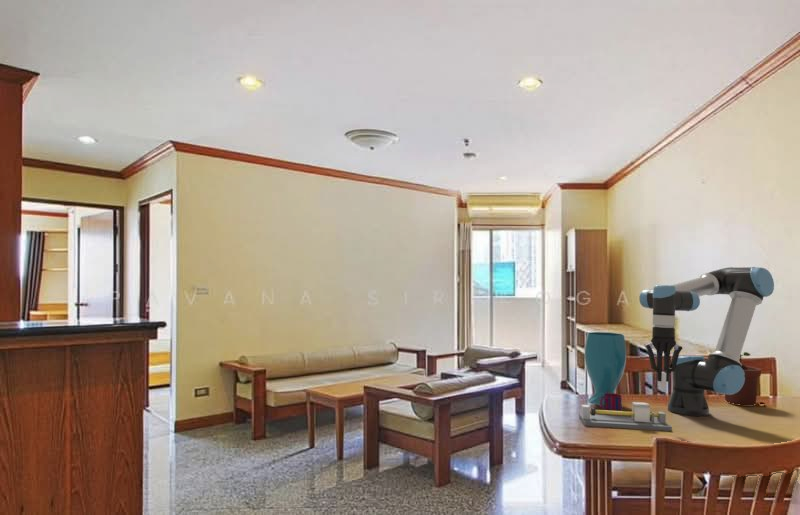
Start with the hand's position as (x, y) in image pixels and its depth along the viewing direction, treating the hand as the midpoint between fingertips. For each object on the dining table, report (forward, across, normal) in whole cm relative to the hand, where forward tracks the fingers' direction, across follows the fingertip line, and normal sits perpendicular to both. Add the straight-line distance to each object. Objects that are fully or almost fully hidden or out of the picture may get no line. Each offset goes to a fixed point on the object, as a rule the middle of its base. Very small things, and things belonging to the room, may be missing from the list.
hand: (662, 390), depth 201 cm
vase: (+14, +12, -37) cm, 42 cm away
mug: (+14, +14, -19) cm, 28 cm away
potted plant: (+13, -50, -52) cm, 74 cm away
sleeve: (+12, +8, 0) cm, 14 cm away
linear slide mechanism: (+14, +14, 0) cm, 19 cm away
